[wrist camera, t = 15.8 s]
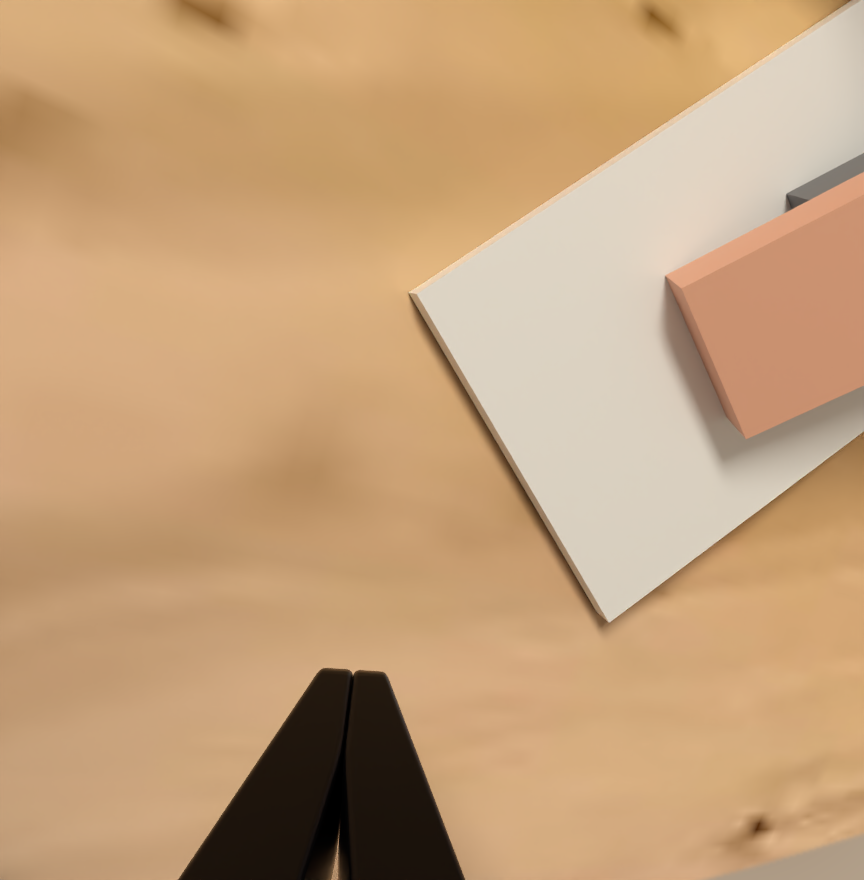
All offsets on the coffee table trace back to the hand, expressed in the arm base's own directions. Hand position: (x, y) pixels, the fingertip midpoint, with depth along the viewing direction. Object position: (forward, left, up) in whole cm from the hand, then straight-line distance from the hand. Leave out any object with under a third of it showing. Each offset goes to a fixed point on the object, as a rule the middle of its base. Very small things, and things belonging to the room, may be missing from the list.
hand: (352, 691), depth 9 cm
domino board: (+15, -10, -11) cm, 21 cm away
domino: (+10, -8, -9) cm, 16 cm away
